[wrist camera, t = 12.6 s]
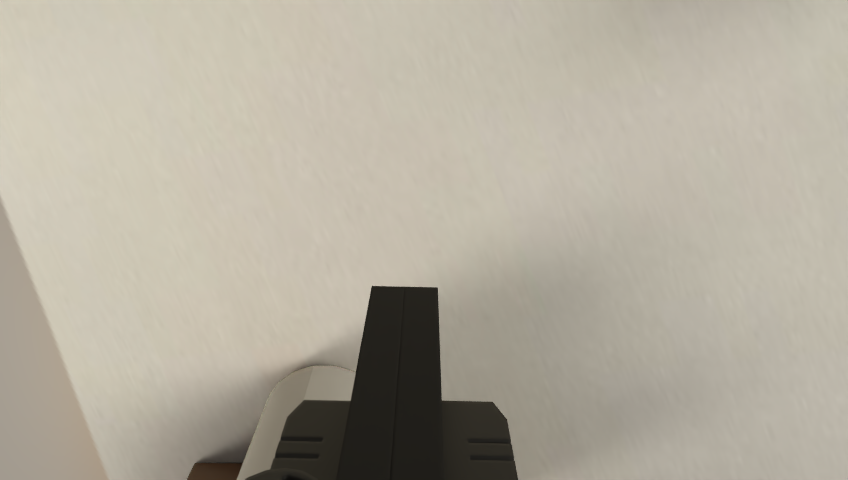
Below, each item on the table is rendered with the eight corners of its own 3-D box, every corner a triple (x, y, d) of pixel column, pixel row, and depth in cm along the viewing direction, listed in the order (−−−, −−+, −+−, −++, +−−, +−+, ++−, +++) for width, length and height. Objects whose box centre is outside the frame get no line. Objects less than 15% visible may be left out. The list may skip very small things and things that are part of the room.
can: (283, 466, 41) (231, 643, 30) (254, 366, 38) (185, 518, 27) (399, 451, 41) (390, 624, 29) (378, 349, 38) (359, 496, 27)
